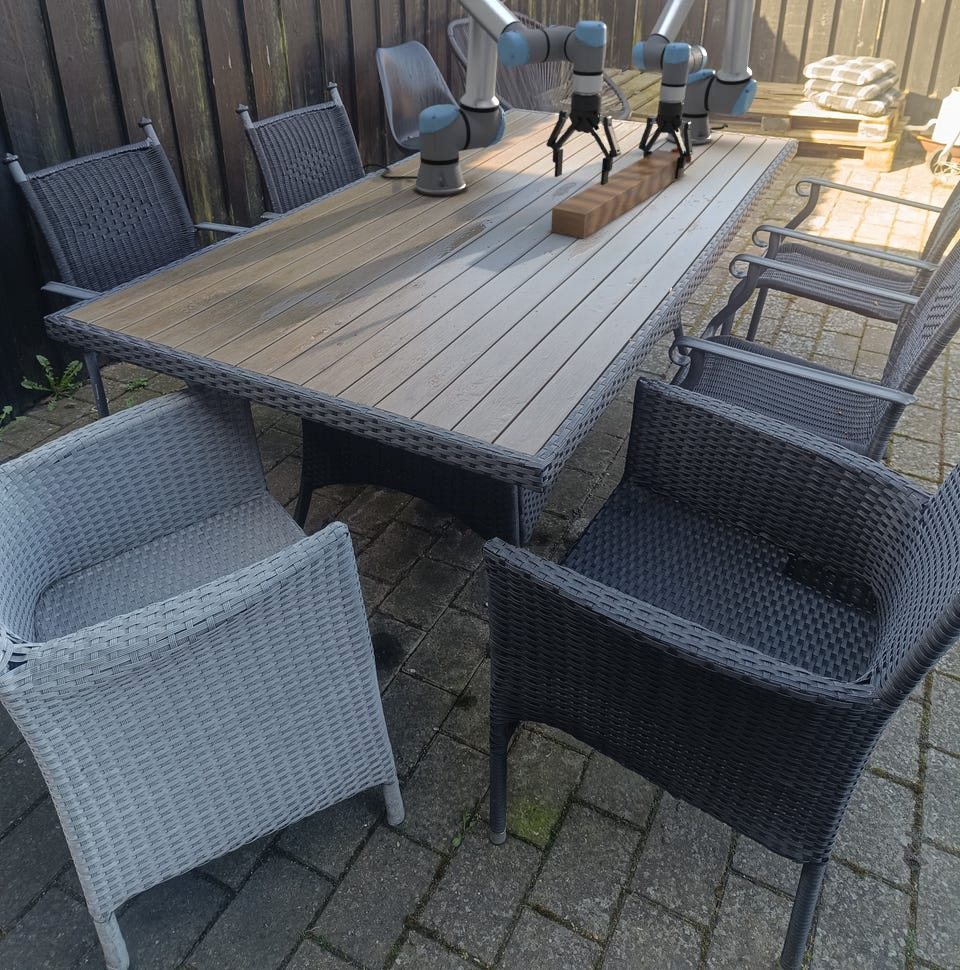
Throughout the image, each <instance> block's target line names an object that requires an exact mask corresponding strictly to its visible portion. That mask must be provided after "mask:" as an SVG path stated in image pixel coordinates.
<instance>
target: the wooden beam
mask: <svg viewBox="0 0 960 970" xmlns="http://www.w3.org/2000/svg"><path fill="white" fill-rule="evenodd" d="M678 157H680V154H679V153H675V152H670V151H667V150H661V149H657V150H655V151H652V153H651V154H650V155H648V156H646V157H644V158H643V157H641V158H640V159H639V160H637V161H634V162H633V163H632V164H629V165H627V166H626V167H624V168H621V170H619V171H617V172H615V173H613V174H612V175H609V176H608V183H606V184H604V185H601V180H600V181H599V182H597V183H595V184H594V185H592V186H590V187H588V188H585V189H584V190H582V191H581V192H579V193H577V194H575V195H573V196H571V197H569V198H568V199H566V200H564V201H562V202H560V203H558V204H557V205H555V206H553V207H552V208H551V209H552V211H551V226H550V227H551V230H550V231H551V233H554V234H560V235H564V236H569V237H575V238H578V239H579V238H580V239H585V238H587V237H588V236H590V235H591V234H593V233H595V232H597V230H599V229H601V228H602V227H604V226H605V225H607V224H609V223H610V222H613V220H615V219H616V218H619V217H620V216H621V215H623V214H625V213H627V212H628V211H629V210H631V209H632V208H634V207H635V206H637V205H639V204H640V203H642V202H643V201H645V200H646V199H648V198H650V197H652V196H653V195H655V194H656V193H658V192H659V191H661V190H662V189H663V188H664V189H665V187H667V186H669V185H670V184H672V183H673V182H675V181H677V179H675V175H676V167H677V160H678ZM685 167H686V165H685V166H684V168H682V169H681V177H683V176H684V175H685Z"/></svg>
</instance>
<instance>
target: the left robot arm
mask: <svg viewBox="0 0 960 970" xmlns="http://www.w3.org/2000/svg"><path fill="white" fill-rule="evenodd" d="M450 1H452V2H454V3H458V4H459V5H460V7H462V9H464V10H465V12H466V13H467V14H469V16H468V17H469V19H468V39H467V40H468V41H467V58H466V61H467V62H466V79H465V80H466V82H465V94H463V96H461V97H460V99H459V108H458V106H457V105H455V104H453V103H452V104H449V103H444V104H436V105H435V104H434V105H431V106H429V107H426V108H425V109H423V110H422V111H421V112H420V114H419V116H418V118H419V119H418V136H419V138H418V139H419V157H420V158H419V159H420V161H419V162H420V164H419V168H418V172H417V175H416V176H415V175H394V176H393V175H391V176H390V175H387V174H388V173H390V171H391V169H390V168H389V167H388V166H385V165H383V164H380V163H379V164H378V163H373V162H371V163H365V164H364V165H363V166H362V167H361V169H364V170H365V169H366V168H368V167H378V168H382V169H384V170H385V171H383V172H382V173H380V177H381V178H383V179H387V180H390V179H391V180H400V179H401V180H402V179H403V180H404V179H405V180H415V183H414V184H415V185H414V186H415V192H417V193H418V194H420V195H424V196H430V197H450V196H455V195H459V194H461V193H463V192H464V191H466V181H465V179H464V176H463V172H462V169H461V165H460V152H462V151H469V150H475V149H476V150H477V149H481V148H482V149H486V148H489V147H492V146H495V145H497V144H498V143H500V141H502V139H503V137H504V134H505V131H506V124H507V121H506V116H505V111H504V108H502V106H501V105H500V100H499V99H498V98H497V97H496V80H497V67H498V57H499V61H500V63H501V64H502V65H504V66H506V67H523V66H527V65H535V64H545V63H554V62H568V63H572V64H573V67H572V68H573V69H572V80H571V81H572V82H571V91H572V94H571V100H570V111H568V109H566V108H565V109H562V110H560V111H559V112H558V119H557V121H556V123H555V126H554V127H553V130H552V132H551V133H550V136H549V137H548V139H547V141H546V147H548V148H550V149H552V163H553V164H554V178H558V177H560V176H562V175H563V162H564V161H563V159H564V149H563V148H562V147H563V145H564V144H565V143H566V142H567V141H568V140H569V138H570V137H571V136H572V135H573V134H574V132H575V131H576V132H577V133H581V132H582V133H585V134H590V135H591V136H592V137H593V138H594V140H595V142H596V143H597V145H598V146H599V148H600V150H601V151H602V153H603V155H604V157H603V158H602V162H601V163H602V164H601V175H600V181H601V185H604V184H606V183H608V177H609V176H610V175H609V174H610V172H611V171H612V170H613V165H614V164H613V163H614V158H617V157H619V156H621V154H622V152H621V149H620V145H619V142H618V139H617V136H616V132H615V130H614V126H613V116H612V115H611V114H608V115H601V109H602V98H603V97H602V96H603V95H602V93H601V92H602V90H603V86H604V85H603V83H604V70H605V59H606V46H607V42H608V41H607V24H605V22H603V21H600V20H581V21H578V22H576V23H575V27H572V26H567V25H566V24H565V25H564V24H551V25H550V26H548V27H545V28H533V29H532V28H531V29H529V28H528V27H527V26H526V25H525V24H524V23H522V21H521V20H520V19H519V18H518V17H517V16H516V15H515V14H514V13H513V12H512V11H511V10H510V8H508V7H507V6H506V5H505V4H504V3H505V2H506V1H507V0H450ZM567 120H570V122H571V123H570V125H569V126H568V127H567V128H566V130H565V131H564V133H562V134H561V132H562V130H563V128H564V126H565V125H566V123H567ZM600 123H601V125H602V126H603V130H604V133H603V132H602V129H601V128H602V127H600V125H599V124H600ZM560 134H561V136H560V137H559V135H560ZM604 134H605V135H604Z"/></svg>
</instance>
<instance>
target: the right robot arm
mask: <svg viewBox="0 0 960 970" xmlns="http://www.w3.org/2000/svg"><path fill="white" fill-rule="evenodd" d="M694 2H695V0H667V1H666V3H665V5H664V7H663V8H662V11H661V13H660V15H659V17H658V19H657V20H656V22H655V25H654V27H653V28H652V31H651V33H650V34H649V36H648V38H647V40H646V41H639V42H637V43H636V44H635V46H634V47H633V50H632V58H631V59H632V63H633V66H634V67H635V68H637V69H641V70H645V71H647V70H649V71H655V72H656V71H658V72H661V81H660V88H659V101H658V105H657V115H656V116H653V115H651V116H649V117H647V118H646V126H645V128H644V131H643V133H642V137H641V139H640V142H639V145H638V149H639V150H641V151H643V156H642V158H644V157H646V156H648V155H650V154H651V153H653V151H652V147H653V146H654V145H655V143H656V141H657V140H658V138H659V137H660V135H661V134H667V140H668V141H669V142H671V143H675V145H676V148H678V151H679V154H680V157H678V160H677V167H676V175H675V179H676V180H679V179H680V178H681V177H682V176H681V169H682V168H684V166H685V167H686V162H685V161H686V157H688V156H690V155H691V156H692V155H693V154H694V152H693V145H694V146H696V145H698V146H699V145H705V144H709V143H710V142H711V137H712V135H711V133H712V131H720V130H723V129H725V128H729V124H728V123H727V122H726V123H723V125H721V126H714V127H710V121H709V115H710V113H714V114H715V113H716V114H722V115H729V116H744V115H745V114H746V113H748V111H749V110H750V108H751V106H752V105H753V103H754V100H755V97H756V93H757V90H758V81H757V80H756V79H754V78H752V75H753V71H752V70H751V68H749V58H750V48H751V37H752V25H753V15H754V4H755V0H726V1H725V12H724V13H725V16H724V29H723V42H722V57H721V67H720V69H719V70H718V71H717V72H716V70H715V69H711V68H707V69H706V68H704V67H705V66H706V65H707V61H708V55H707V51H706V49H705V48H704V47H703V46H701V45H699V44H698V45H697V44H696V45H694V44H692V45H690V44H689V43H686V42H674V41H675V40H676V37H677V35H678V33H679V32H680V30H681V28H682V26H683V23H684V22H685V20H686V18H687V17H688V14H689V12H690V10H691V8H692V6H693V4H694ZM655 124H656V125H657V128H656V130H655V131H654V133H653V135H651V132H652V129H653V126H654V125H655ZM650 135H651V138H650V139H649V137H650ZM648 140H649V141H648ZM684 169H685V168H684Z"/></svg>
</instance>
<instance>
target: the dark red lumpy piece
mask: <svg viewBox="0 0 960 970" xmlns="http://www.w3.org/2000/svg"><path fill="white" fill-rule="evenodd" d="M669 152H675V153H679V151H678V148H677V147H674V148H671V149H670V151H669ZM691 162H692V155H690V156H688V157H686V161H685V163H691Z"/></svg>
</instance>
